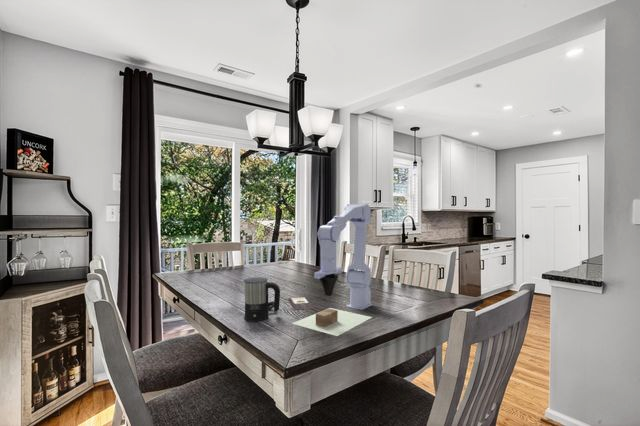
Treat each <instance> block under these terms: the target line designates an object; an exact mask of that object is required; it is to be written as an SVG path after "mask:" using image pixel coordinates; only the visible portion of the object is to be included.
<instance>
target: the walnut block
mask: <svg viewBox="0 0 640 426" xmlns="http://www.w3.org/2000/svg"><path fill="white" fill-rule="evenodd" d="M333 309H334V308H333ZM333 309H328V308H326V309H325V310H324V311H323V310H321V311H319V313H318V312H316V313H317V314H316V313H315V314H316V325H318V326H321V327H327V326H329V325H331V324H333V323H335V322H337V321H338V310H339V309H337V310H333Z"/></svg>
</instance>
